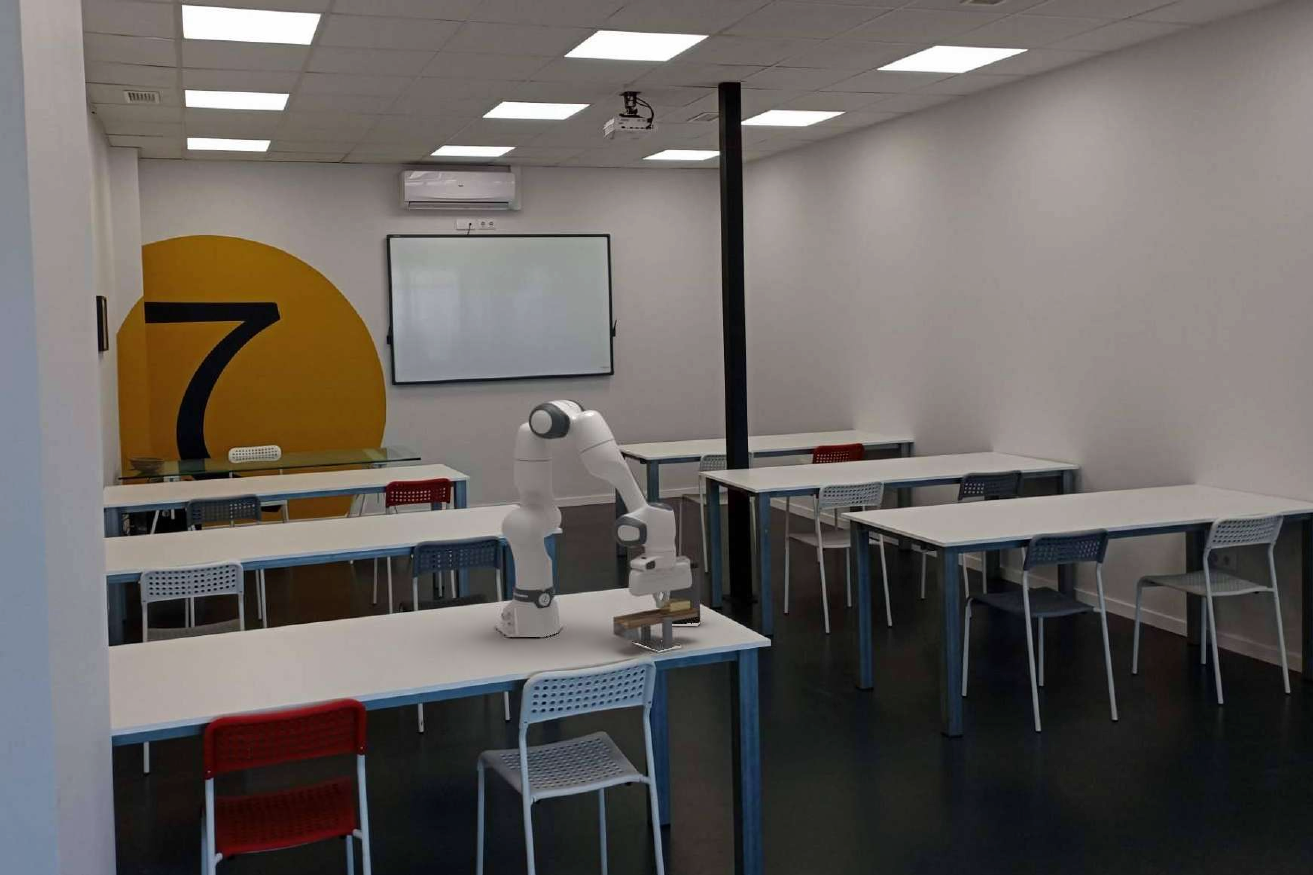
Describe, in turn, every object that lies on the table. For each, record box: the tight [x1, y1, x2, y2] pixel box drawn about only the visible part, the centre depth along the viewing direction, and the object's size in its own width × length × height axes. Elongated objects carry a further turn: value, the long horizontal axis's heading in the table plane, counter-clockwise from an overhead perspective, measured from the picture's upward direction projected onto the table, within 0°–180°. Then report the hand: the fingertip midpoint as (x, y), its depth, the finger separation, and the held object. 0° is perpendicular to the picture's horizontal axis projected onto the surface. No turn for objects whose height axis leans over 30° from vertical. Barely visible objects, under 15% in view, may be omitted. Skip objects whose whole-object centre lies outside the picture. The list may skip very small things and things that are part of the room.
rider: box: [659, 598, 690, 614], centre depth 326 cm, size 5×7×4 cm
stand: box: [631, 610, 682, 651], centre depth 322 cm, size 13×8×9 cm, turn 36°
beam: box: [612, 607, 698, 641], centre depth 322 cm, size 8×24×5 cm, turn 126°
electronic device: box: [668, 558, 701, 624], centre depth 345 cm, size 9×6×20 cm, turn 84°
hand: (661, 607), depth 323 cm, fingers closed
